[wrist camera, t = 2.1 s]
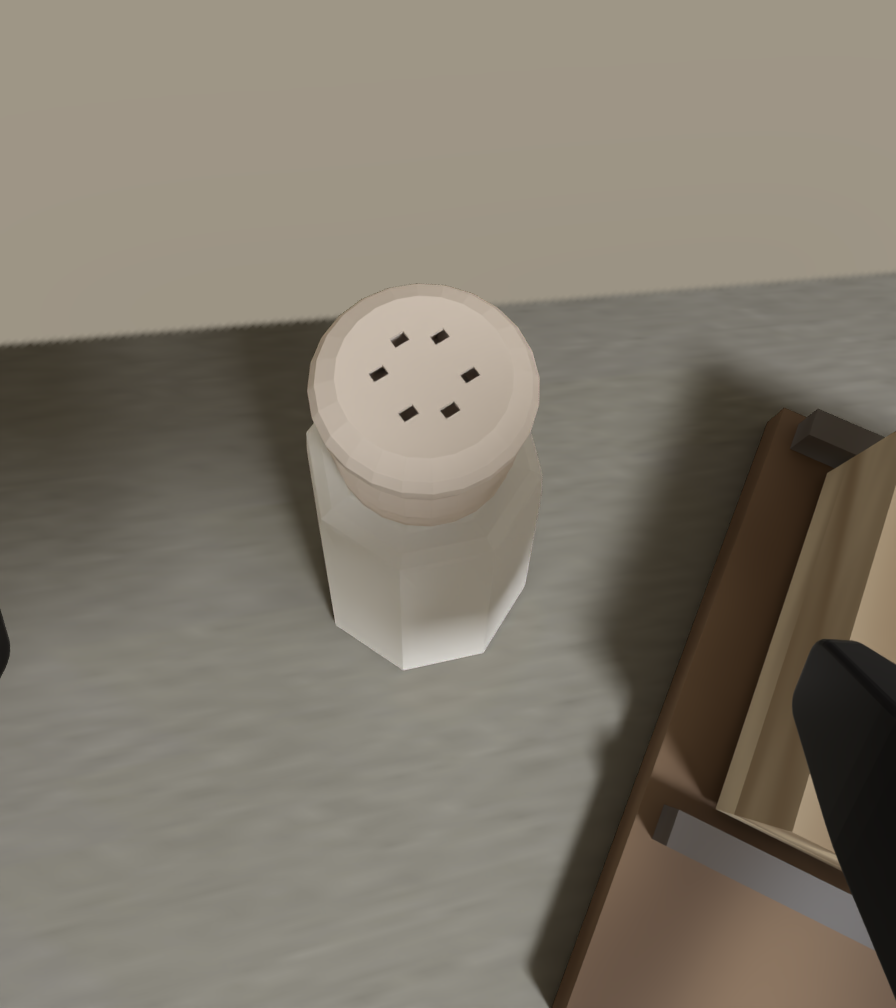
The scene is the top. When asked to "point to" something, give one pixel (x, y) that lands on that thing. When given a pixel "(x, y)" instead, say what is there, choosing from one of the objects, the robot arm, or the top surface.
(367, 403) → the pepper shaker
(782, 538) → the open wooden tray
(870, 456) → the light wooden tray
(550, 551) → the top surface
